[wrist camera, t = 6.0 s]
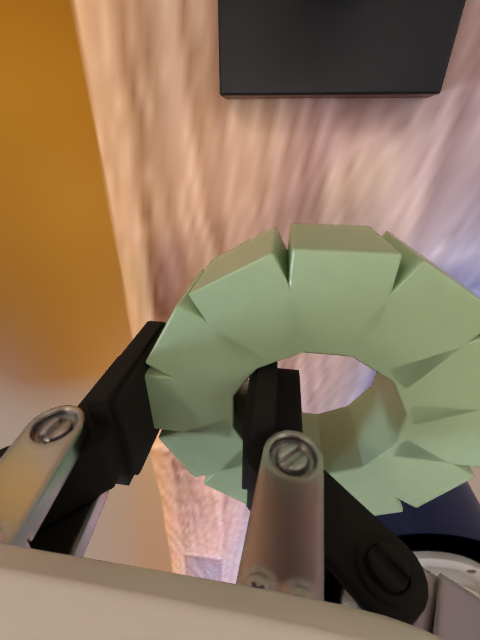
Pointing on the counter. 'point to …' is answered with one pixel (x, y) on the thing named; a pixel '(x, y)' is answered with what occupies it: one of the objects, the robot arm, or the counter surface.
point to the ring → (335, 339)
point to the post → (335, 47)
